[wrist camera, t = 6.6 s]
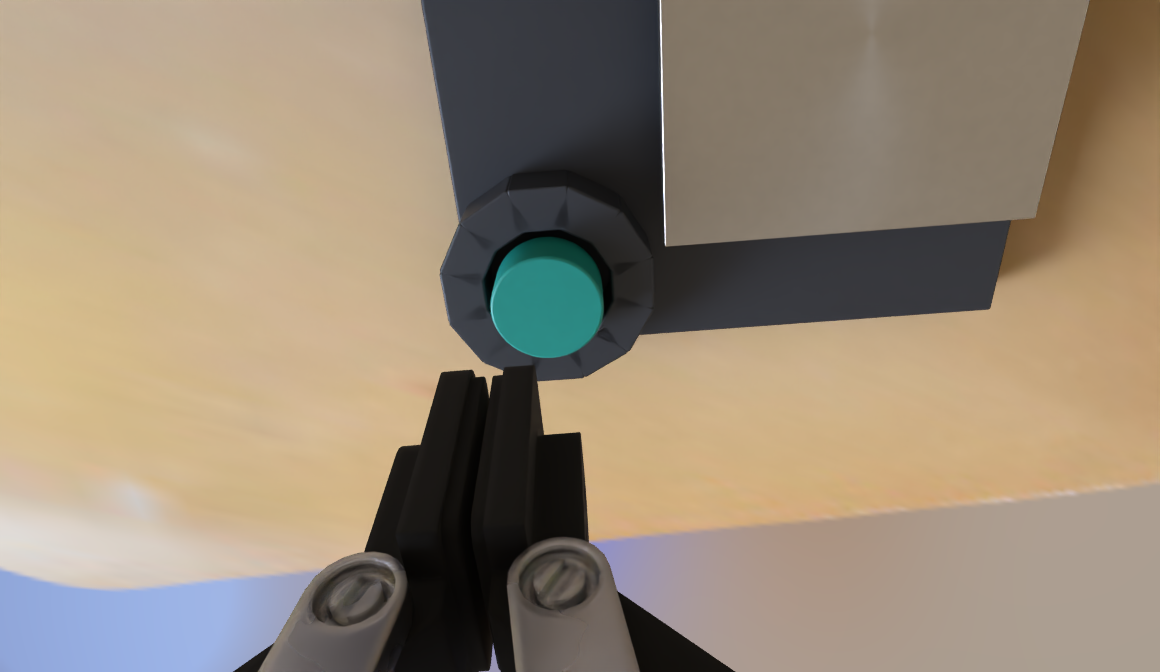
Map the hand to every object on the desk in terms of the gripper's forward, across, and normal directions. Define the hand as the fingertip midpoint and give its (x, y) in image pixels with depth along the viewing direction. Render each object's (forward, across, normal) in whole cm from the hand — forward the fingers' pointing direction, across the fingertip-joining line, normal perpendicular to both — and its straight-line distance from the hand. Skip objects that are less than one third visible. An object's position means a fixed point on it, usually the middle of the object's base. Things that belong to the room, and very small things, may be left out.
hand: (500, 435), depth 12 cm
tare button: (+7, -1, +1) cm, 8 cm away
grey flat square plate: (+7, -9, -6) cm, 12 cm away
